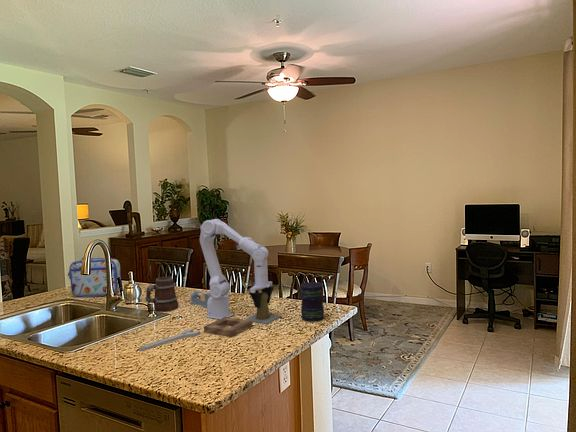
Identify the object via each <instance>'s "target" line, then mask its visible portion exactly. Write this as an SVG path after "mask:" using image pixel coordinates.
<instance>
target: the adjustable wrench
mask: <svg viewBox="0 0 576 432" xmlns="http://www.w3.org/2000/svg"><path fill="white" fill-rule="evenodd" d="M200 334H201V330H200V329H198V330H196V331H194V329H193V328H190V329H185V330H182V331H181V332H180V333H179V334H175V335H173V336H169V337H165V338H162V339H160V340H156V341H152V342H150V343H146V344H143V345H141V346H138V351H139V352H143V351H144V352H145V351H147V350H150V349H154V348H157V347H160V346H163V345H166V344H169V343H172V342H175V341H179V340H182V339H188V338H194V337H198V336H200Z"/></svg>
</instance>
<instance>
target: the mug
mask: <svg viewBox="0 0 576 432" xmlns="http://www.w3.org/2000/svg"><path fill="white" fill-rule="evenodd" d="M175 287H176V283H175V281H174V278H173V277H172V276H162V277H161V276H160V277H157V278H156V279H155V281H154V284H150V285H148V286H147V288H146V290H145V291H146V294H145V298H144V299H145V301H146V302H147V303H148V304H150V302H153V303H152V304H153V305H154V304H155V310H156V311H155V310H154V311H155V312H168V311H174V310H176V309H178V308H179V301H178V300H177V299H179V298H178V295H177V294H176V289H175ZM153 290H154V298H152V297H151V294H152V291H153Z"/></svg>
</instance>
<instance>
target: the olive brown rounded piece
mask: <svg viewBox="0 0 576 432" xmlns="http://www.w3.org/2000/svg"><path fill="white" fill-rule="evenodd" d="M260 292H261V291H260ZM261 293H262V296H261V302H260V308H256V313H255V314H256V319H259V320H265V319H269V318H270V315H269V314H270V310H269V304H268V303H267V299H268V294H267V293H264V292H261Z"/></svg>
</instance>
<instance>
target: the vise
mask: <svg viewBox="0 0 576 432" xmlns="http://www.w3.org/2000/svg"><path fill="white" fill-rule="evenodd" d="M189 295H190V302H189V304H190V305H198V306H201V307H202V308H203V309H207V302H208V299H209V298H210V297H211V294H210V291H207V292H203V290H202V289H199V290H198V291H197V290H195V291H193V290H192V291H191V292H190V293H187V292H185V293H184V296H185V297H187V296H189Z"/></svg>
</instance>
